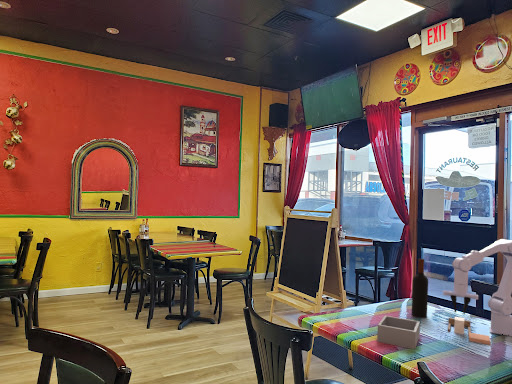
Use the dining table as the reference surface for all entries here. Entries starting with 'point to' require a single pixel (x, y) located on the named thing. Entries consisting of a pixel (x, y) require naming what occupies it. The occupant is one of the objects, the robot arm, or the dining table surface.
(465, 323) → the frame
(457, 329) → the block
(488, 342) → the tile
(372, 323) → the dining table surface
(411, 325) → the box
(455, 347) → the dining table surface
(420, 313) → the wine bottle
